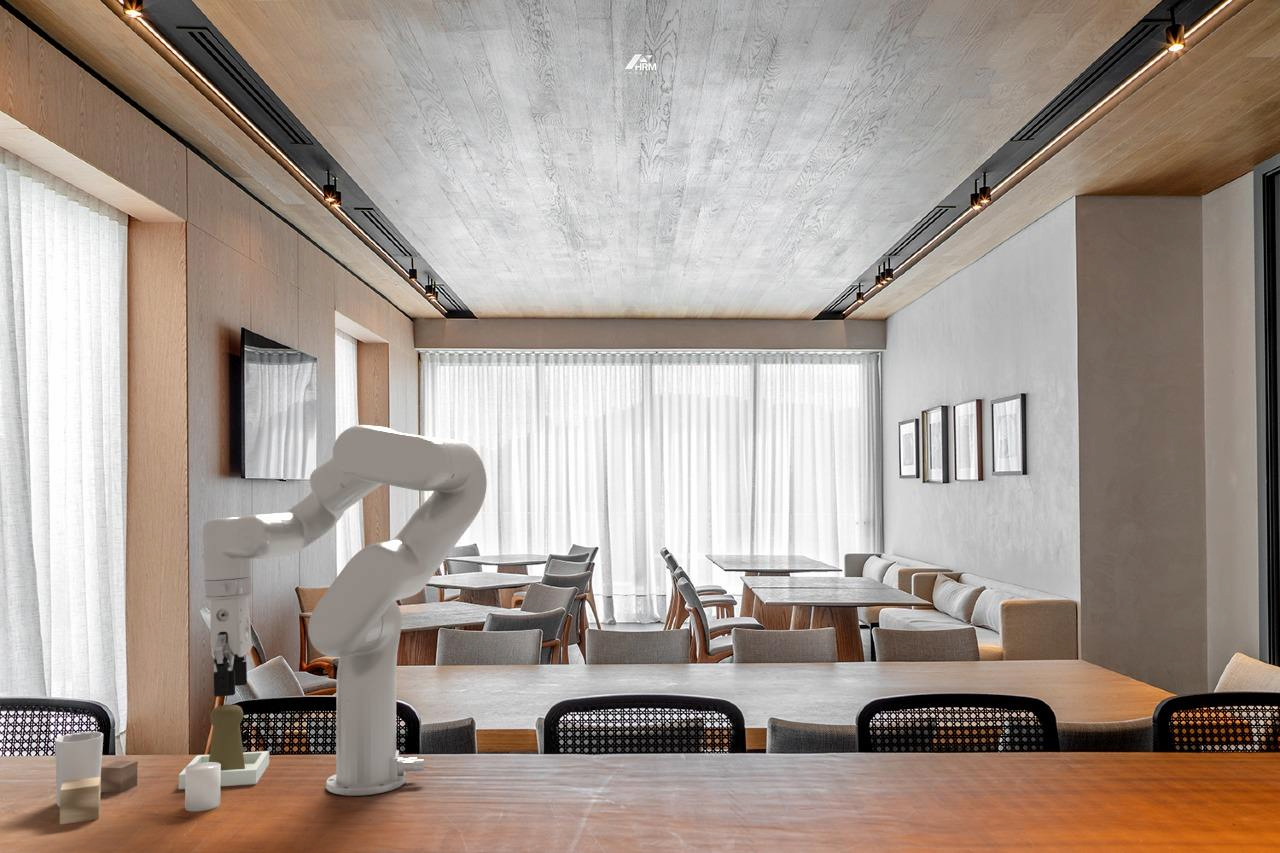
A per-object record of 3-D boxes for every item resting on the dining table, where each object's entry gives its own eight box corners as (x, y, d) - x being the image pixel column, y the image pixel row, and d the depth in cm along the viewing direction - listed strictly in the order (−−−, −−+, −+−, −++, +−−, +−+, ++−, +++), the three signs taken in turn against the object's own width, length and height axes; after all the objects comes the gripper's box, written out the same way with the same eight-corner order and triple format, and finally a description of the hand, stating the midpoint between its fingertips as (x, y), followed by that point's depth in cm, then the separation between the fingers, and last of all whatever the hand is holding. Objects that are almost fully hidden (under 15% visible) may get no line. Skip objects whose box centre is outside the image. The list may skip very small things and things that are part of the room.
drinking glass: (112, 797, 158) (113, 733, 159) (76, 810, 152) (77, 743, 152) (80, 793, 160) (81, 730, 161) (43, 806, 154) (44, 740, 154)
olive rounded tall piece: (231, 777, 165) (231, 710, 166) (199, 775, 166) (199, 709, 167) (252, 767, 171) (253, 702, 172) (221, 765, 172) (222, 701, 173)
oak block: (100, 809, 152) (100, 776, 152) (98, 819, 148) (99, 785, 148) (62, 815, 150) (63, 781, 150) (59, 825, 145) (60, 790, 146)
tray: (269, 764, 176) (269, 750, 176) (256, 783, 164) (256, 769, 164) (196, 768, 173) (197, 755, 173) (178, 789, 162) (178, 774, 162)
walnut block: (137, 785, 164) (137, 761, 164) (121, 793, 160) (121, 768, 161) (115, 784, 165) (115, 760, 165) (98, 792, 161) (99, 767, 161)
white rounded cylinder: (223, 799, 156) (223, 761, 156) (216, 810, 151) (216, 769, 151) (189, 802, 155) (190, 763, 155) (181, 812, 150) (181, 772, 150)
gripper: (241, 592, 163) (244, 697, 161) (260, 583, 180) (263, 679, 178) (192, 595, 161) (195, 702, 160) (216, 587, 178) (219, 683, 177)
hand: (231, 690), depth 169 cm, fingers open, 9 cm apart
